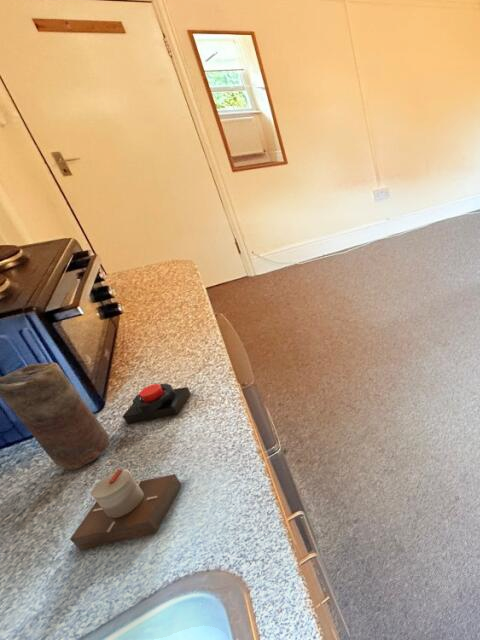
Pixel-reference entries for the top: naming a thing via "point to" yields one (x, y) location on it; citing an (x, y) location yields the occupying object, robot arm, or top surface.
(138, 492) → the knob
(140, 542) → the top surface
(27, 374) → the brown textured cylinder
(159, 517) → the panel
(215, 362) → the top surface
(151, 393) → the button
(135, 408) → the button box
